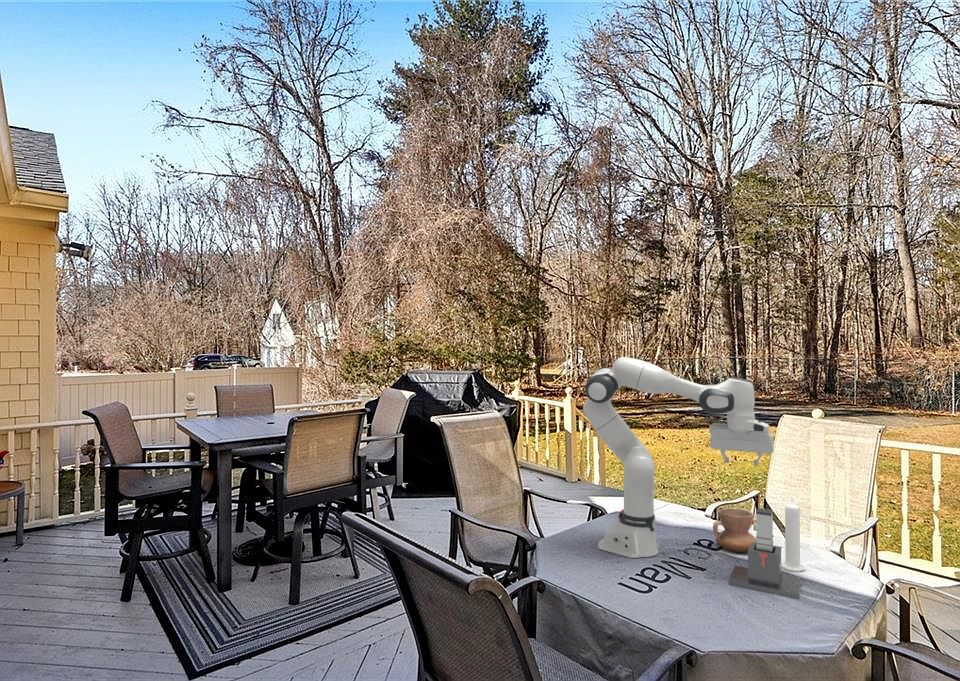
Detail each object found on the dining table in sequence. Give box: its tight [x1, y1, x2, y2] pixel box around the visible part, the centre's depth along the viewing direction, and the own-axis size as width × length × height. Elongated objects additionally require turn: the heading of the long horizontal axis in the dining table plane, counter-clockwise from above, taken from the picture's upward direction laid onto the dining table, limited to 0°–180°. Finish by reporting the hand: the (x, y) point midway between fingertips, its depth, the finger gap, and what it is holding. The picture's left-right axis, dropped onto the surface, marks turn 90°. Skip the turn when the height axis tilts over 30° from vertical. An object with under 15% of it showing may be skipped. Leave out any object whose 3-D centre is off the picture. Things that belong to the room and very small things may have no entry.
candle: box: [781, 496, 805, 573], centre depth 199 cm, size 7×7×25 cm
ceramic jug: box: [712, 507, 757, 553], centre depth 218 cm, size 18×14×14 cm
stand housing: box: [728, 542, 802, 599], centre depth 187 cm, size 20×14×12 cm
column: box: [755, 507, 774, 553], centre depth 187 cm, size 5×5×16 cm
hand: (741, 463), depth 198 cm, fingers open, 8 cm apart
